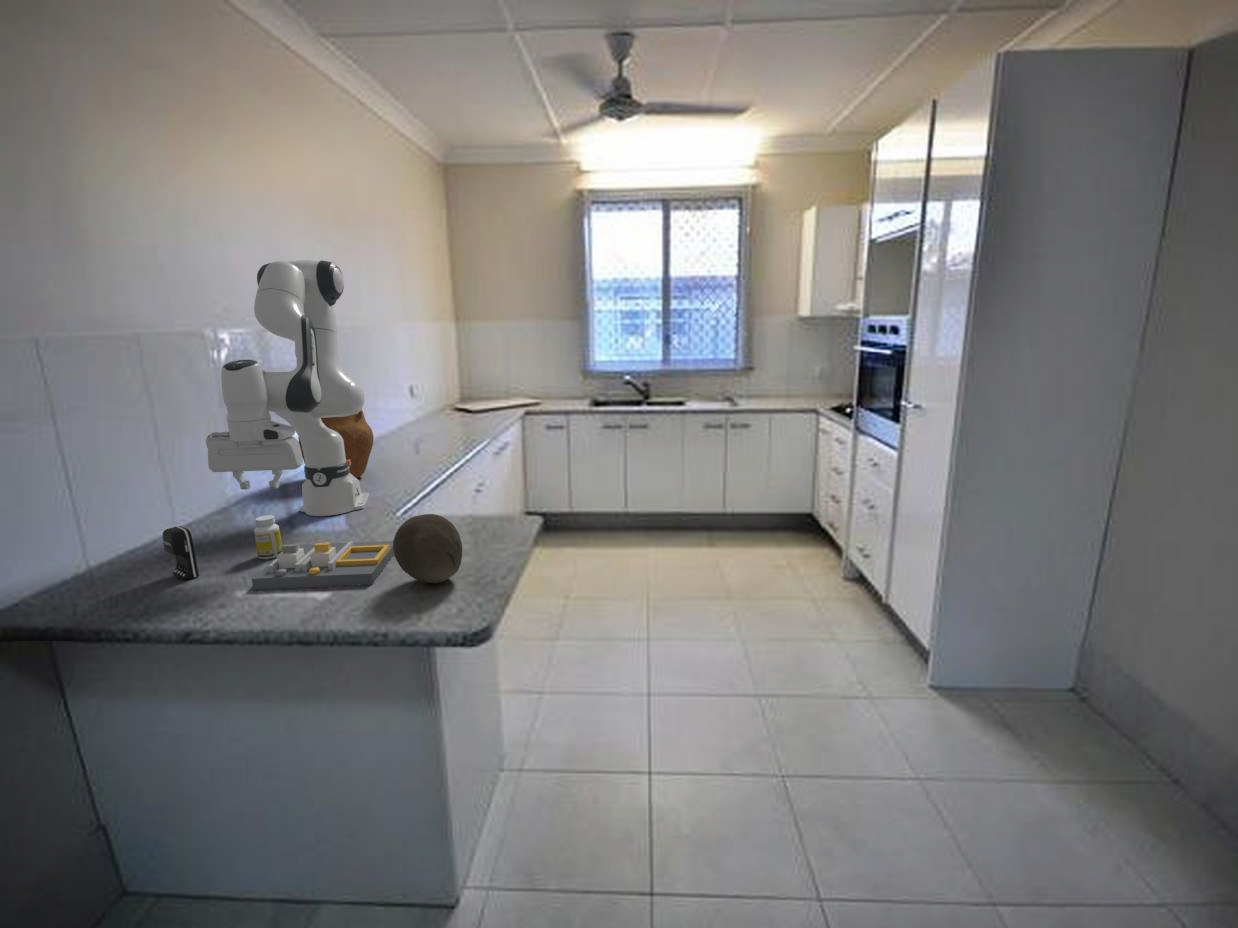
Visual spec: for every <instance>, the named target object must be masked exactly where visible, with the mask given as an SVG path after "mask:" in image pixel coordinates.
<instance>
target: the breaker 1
mask: <svg viewBox="0 0 1238 928" xmlns="http://www.w3.org/2000/svg"><path fill="white" fill-rule="evenodd" d="M298 544H299V543H290V544H282V546H281V547H282V552H281V553H280V554H279V555H278V556H277V557H276V558H278V564H279V568H295V564H296V563H297V562H298V561H299V560H300V559H301V558H303V557H304V556H305V554H304V548H300V549H298Z"/></svg>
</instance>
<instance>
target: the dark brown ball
mask: <svg viewBox="0 0 1238 928" xmlns="http://www.w3.org/2000/svg"><path fill="white" fill-rule="evenodd" d="M392 541H393V550H394V557H395V560H396V562H397V564H398V565H399V567H400V568H401V570H402V571H403V572H405V573H406V574H407V575H409V576H410V577H412V578H413V579H415V580H417V581H419V582H422V583H427V584H440V583H444V582H445V581H447V580H449V579H450V578H451V577H453V576H454V575H455V574H456V573H457V572H458V571H459V569H460V568H461V565H462V564H461V563H462V559H463V544H462V543H463V541H462V537H461V535H460V533H459V531H458V530H457V528H456V526H455V525H454V524H453V523H452V522H451V521H450V520H448V519H447V518H445V517H444V516H442V515H438V514H435V513H425V514H420V515H414V516H412V517H410V518H408V519H406V520H405V521H404V522H403V523H402V524H401V525H400V526H399V527H398V529H397V531H396V533H395V536H394V538H393V540H392Z"/></svg>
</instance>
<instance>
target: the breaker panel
mask: <svg viewBox="0 0 1238 928" xmlns="http://www.w3.org/2000/svg"><path fill="white" fill-rule="evenodd" d="M393 541H394V540H388V541H387V540H385V541H382V540H381V541H363V542H362V541H361V542H359V541H358V542H354V541H353V540H350V541H348V542H339V543H338V542H336V543H335V542H334V543H333V542H332V543H330V542H329V541H327V542H324V543H330V547H335V548H336V555H335V556H334V557H333V558H332V559H331V560H330V561H329V562H328V563H327V564H328V566H324V567H312V565H311V558H310V554H311V553H312V552H313V551H314V550H315V549H314V545H315V544H316V543H311V544H309V543H308V544H300V543H297V544H298V549H300V548H304V554H305V556H304V557H303V558H301V559H300V560H299V561H298V562H297V563H296V564H295V568H279V564H278V557H276V558H274V560H273V561H271V563H269V564H268V565H267V566H265V567H264V568H263V569H262V570H261V571H259V572H258V573H257V574H255V576H253V577H252V578H251V582H252V583H251V584H252V588H253V590H254V591H255V590H275V589H278V590H279V589H296V588H297V589H298V588H319V587H322V588H323V587H324V588H325V587H339V586H340V587H342V586H344V585H346V586H361V585H360V584H368V585H374V583H375V582H376V581H377V579H378V578H379V577H380V576H381V574H382V573H383V571H384V570H385V569H386V568H387V566H388V565H389V563H390V562H391V561H392V559H393V558H394V557H395V555H394V550H393ZM393 556H394V557H393ZM392 557H393V558H392ZM391 558H392V559H391ZM390 560H391V561H390ZM389 561H390V562H389ZM388 562H389V563H388ZM387 564H388V565H387ZM386 565H387V566H386ZM384 568H385V569H384ZM383 569H384V570H383ZM381 572H382V573H381ZM380 573H381V574H380ZM378 576H379V577H378ZM376 578H377V579H376ZM375 580H376V581H375ZM358 584H359V585H358ZM344 587H345V586H344Z"/></svg>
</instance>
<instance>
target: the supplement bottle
mask: <svg viewBox="0 0 1238 928" xmlns="http://www.w3.org/2000/svg"><path fill="white" fill-rule="evenodd" d="M275 522H276V520H275V516H274V515H271V514H270V515H268V514H267V515H262V516H258V517H256V518H255V524H256V526H255V528H254V530H253V534H254V535H253V536H254V539H255V540H254V541H255V545H256V551H257V556H258V558H259V559H261V560H271V559H276V558H278V557H277V556H278V555H279V554H280V553H281V552H282V547H281V546H283V542H282V537H281V531H280V529H281V528H280V526H279V525H278V524H276V523H275Z"/></svg>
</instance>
